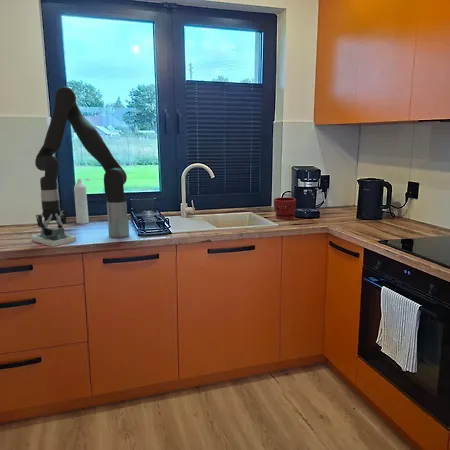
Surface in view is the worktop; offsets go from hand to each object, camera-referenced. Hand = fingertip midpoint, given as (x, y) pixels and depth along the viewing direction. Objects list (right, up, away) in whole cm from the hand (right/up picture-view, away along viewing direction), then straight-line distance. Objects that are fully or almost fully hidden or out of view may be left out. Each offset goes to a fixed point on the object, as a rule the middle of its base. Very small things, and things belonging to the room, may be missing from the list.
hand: (53, 234), depth 194 cm
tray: (0, -3, +1) cm, 3 cm away
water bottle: (+1, +6, +41) cm, 41 cm away
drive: (0, -2, 0) cm, 2 cm away
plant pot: (+116, +8, +54) cm, 128 cm away
